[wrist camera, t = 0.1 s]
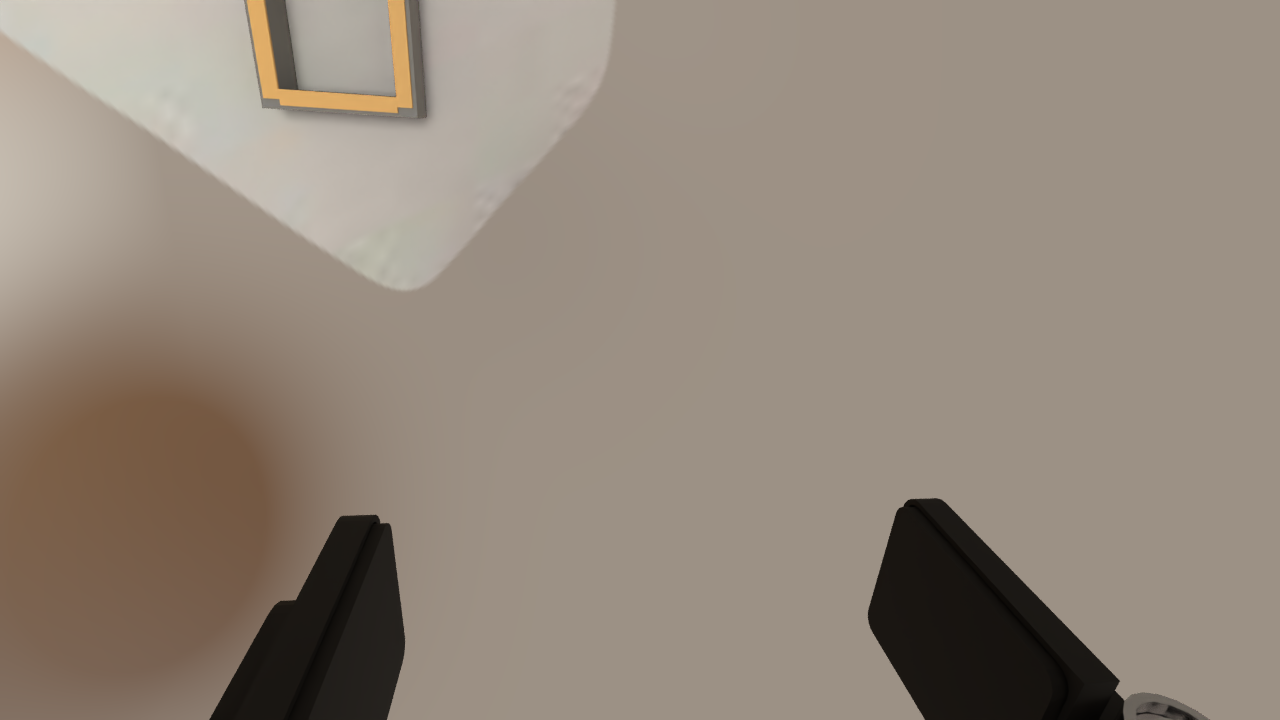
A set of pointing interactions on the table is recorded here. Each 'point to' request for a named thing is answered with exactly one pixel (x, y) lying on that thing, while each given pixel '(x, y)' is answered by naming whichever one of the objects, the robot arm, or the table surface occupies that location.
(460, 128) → the table surface
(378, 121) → the table surface
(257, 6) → the frame with rectangular openings
